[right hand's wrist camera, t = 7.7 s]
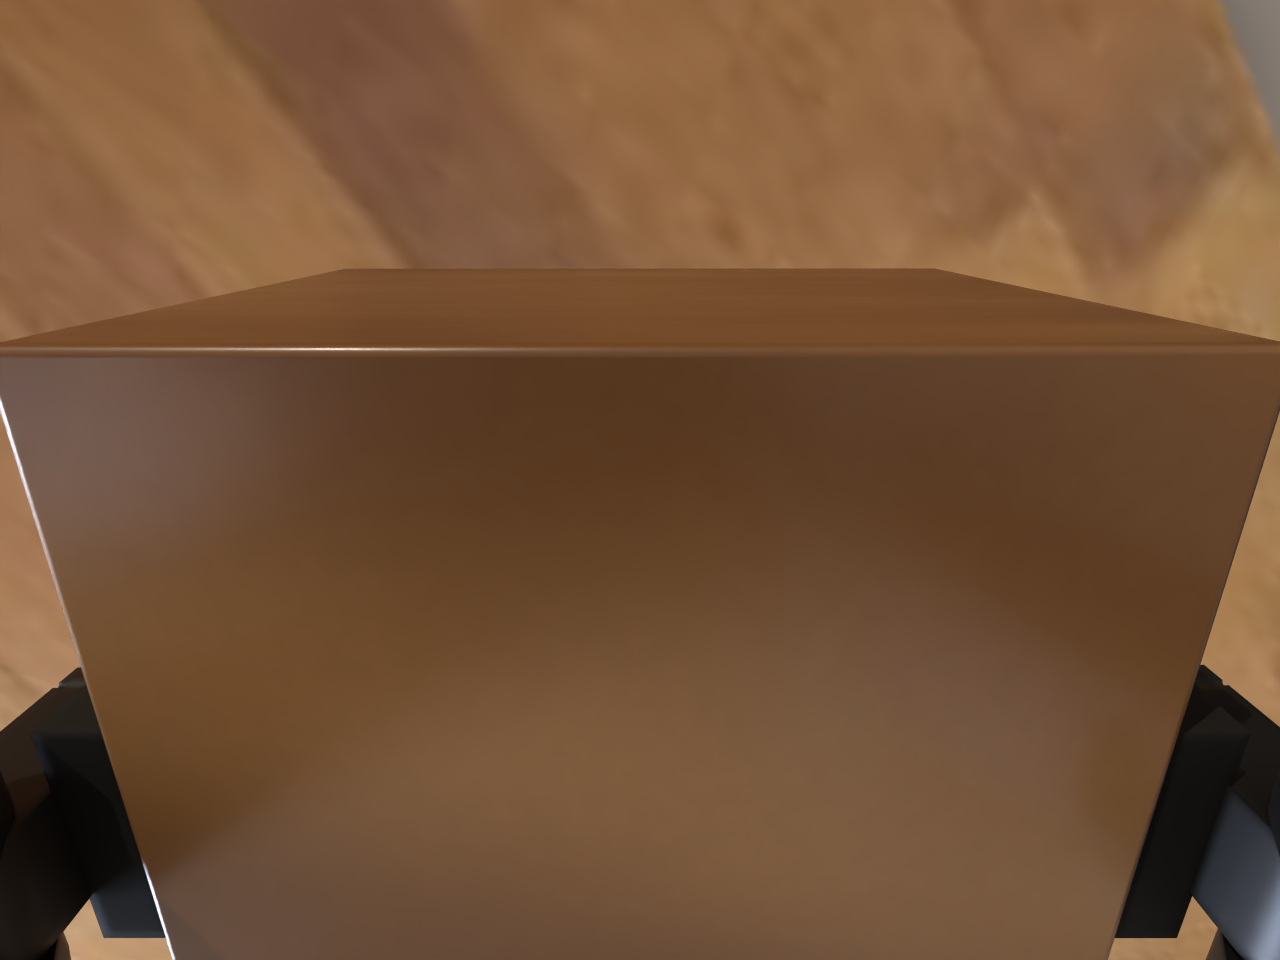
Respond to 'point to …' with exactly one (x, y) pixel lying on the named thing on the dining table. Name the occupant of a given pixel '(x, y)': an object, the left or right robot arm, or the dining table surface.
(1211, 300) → the dining table surface
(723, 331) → the wide beam
